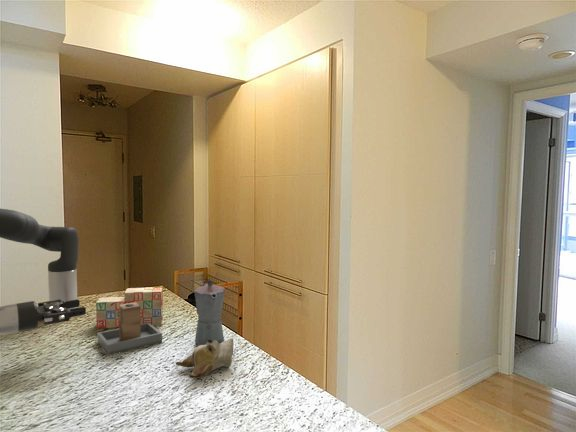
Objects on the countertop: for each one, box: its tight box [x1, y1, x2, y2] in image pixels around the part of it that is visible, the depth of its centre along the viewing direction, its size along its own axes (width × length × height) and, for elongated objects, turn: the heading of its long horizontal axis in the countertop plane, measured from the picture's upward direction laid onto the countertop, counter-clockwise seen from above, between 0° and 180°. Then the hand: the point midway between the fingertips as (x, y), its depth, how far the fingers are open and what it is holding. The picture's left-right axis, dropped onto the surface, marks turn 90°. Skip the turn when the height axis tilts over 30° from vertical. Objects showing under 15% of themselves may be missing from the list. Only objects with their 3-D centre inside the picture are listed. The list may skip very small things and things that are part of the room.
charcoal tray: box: [96, 323, 163, 356], centre depth 122 cm, size 12×16×3 cm
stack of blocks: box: [95, 286, 164, 329], centre depth 138 cm, size 21×6×12 cm, turn 103°
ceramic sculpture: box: [175, 337, 234, 379], centre depth 104 cm, size 11×9×15 cm
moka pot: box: [194, 280, 226, 346], centre depth 123 cm, size 10×15×20 cm, turn 27°
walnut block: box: [118, 302, 141, 341], centre depth 121 cm, size 5×5×11 cm
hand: (82, 306), depth 115 cm, fingers open, 8 cm apart
